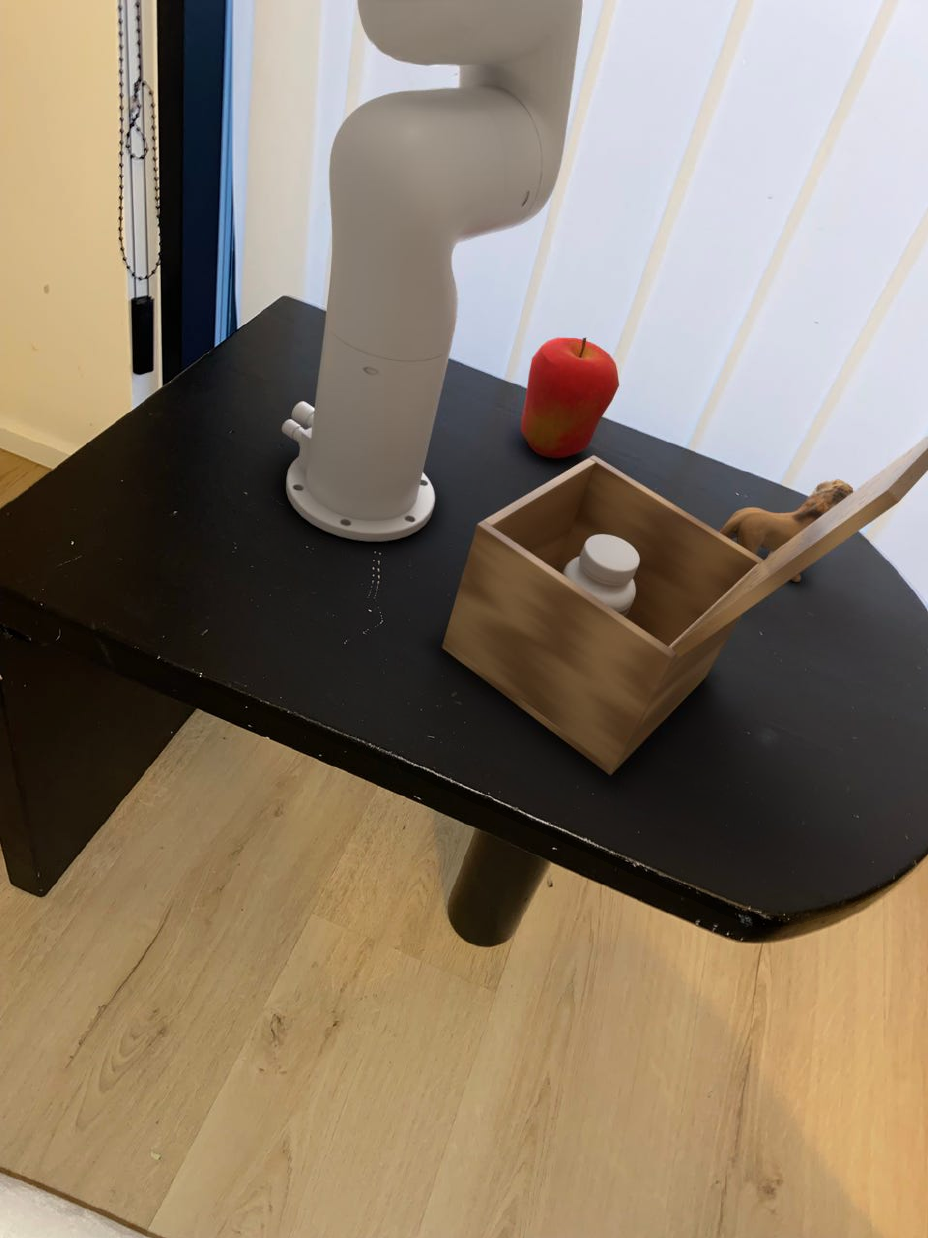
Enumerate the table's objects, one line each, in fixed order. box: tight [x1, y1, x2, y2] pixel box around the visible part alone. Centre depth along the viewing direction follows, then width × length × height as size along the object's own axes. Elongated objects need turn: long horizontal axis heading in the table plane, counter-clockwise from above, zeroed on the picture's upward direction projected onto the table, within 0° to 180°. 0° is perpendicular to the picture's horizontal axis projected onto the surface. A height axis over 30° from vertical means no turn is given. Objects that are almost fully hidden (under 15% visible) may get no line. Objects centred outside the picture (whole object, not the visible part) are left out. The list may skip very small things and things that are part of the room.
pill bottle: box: [562, 534, 640, 618], centre depth 68 cm, size 5×5×10 cm
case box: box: [441, 455, 765, 776], centre depth 68 cm, size 15×14×12 cm
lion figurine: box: [718, 478, 855, 583], centre depth 83 cm, size 15×5×9 cm, turn 116°
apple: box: [520, 336, 620, 459], centre depth 89 cm, size 9×8×12 cm
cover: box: [672, 435, 928, 657], centre depth 55 cm, size 16×14×1 cm
